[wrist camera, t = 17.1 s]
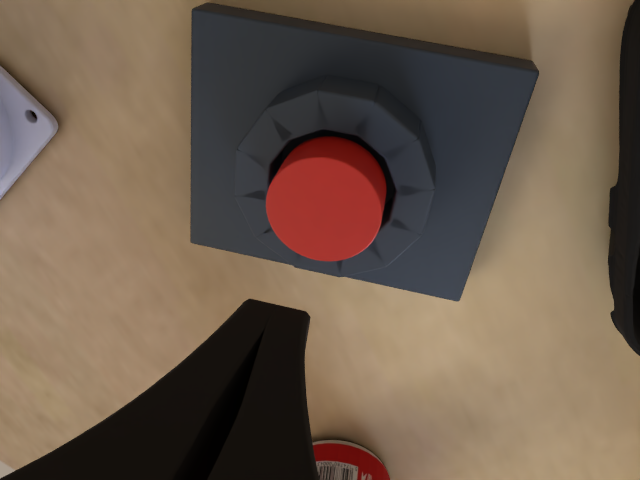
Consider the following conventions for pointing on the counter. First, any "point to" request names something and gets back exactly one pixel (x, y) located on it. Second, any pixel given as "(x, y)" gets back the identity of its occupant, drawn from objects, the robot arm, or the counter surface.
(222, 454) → the robot arm
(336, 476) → the beverage can
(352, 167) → the power button
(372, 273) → the switch block
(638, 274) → the egg carton
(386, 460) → the counter surface
